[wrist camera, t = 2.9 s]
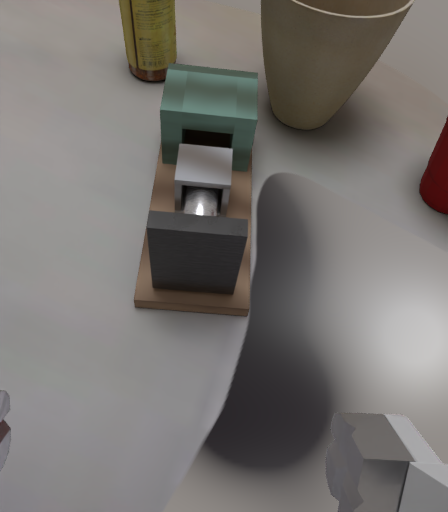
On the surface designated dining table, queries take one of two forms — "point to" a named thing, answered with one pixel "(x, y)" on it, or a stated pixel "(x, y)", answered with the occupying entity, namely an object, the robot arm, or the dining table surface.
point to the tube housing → (204, 169)
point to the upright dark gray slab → (196, 245)
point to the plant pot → (322, 52)
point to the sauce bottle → (149, 36)
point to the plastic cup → (437, 175)
